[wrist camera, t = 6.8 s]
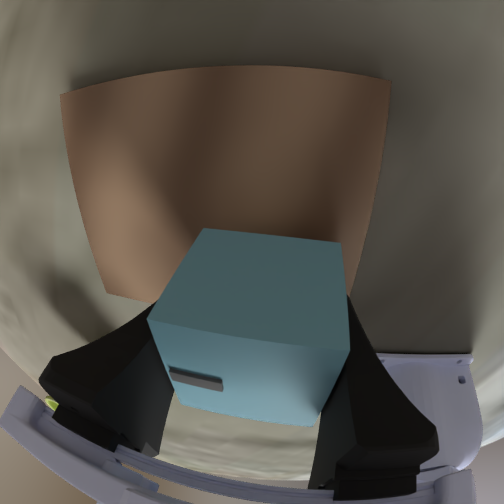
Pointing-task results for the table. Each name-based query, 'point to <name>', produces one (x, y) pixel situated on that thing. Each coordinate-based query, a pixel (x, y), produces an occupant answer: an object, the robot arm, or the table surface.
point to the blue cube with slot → (255, 325)
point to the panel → (222, 163)
